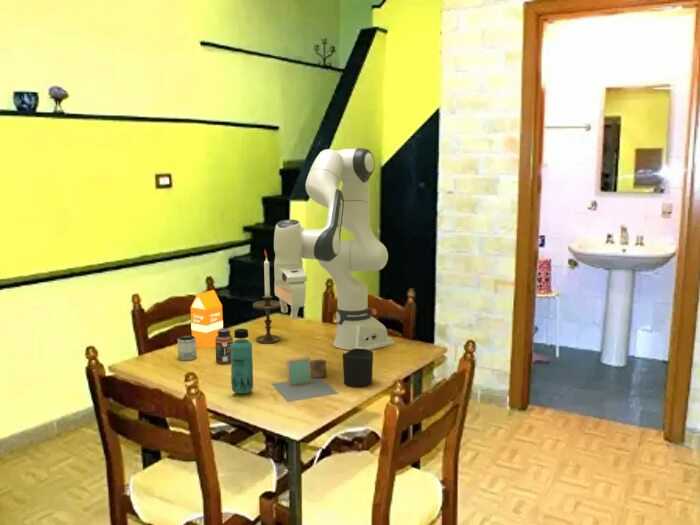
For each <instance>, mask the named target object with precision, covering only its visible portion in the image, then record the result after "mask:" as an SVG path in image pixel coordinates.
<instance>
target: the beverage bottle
mask: <svg viewBox="0 0 700 525" xmlns="http://www.w3.org/2000/svg"><path fill="white" fill-rule="evenodd" d="M233 333H234V334H233V335H234V336H233V338H235V340H233V343H232V344H231V363H230V374H231V377H230V378H231V383H230V384H231V390H232V392H233V393H236V394H246V393H249V392H251V391H253V388H254V374H253V373H254V367H253V366H254V364H253V343H252V342H251V341H250V340H249V339H246V338H248V337H249V330H248V329H247V328H237V329H235V330H234V332H233Z"/></svg>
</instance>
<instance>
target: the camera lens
mask: <svg viewBox="0 0 700 525" xmlns="http://www.w3.org/2000/svg"><path fill="white" fill-rule="evenodd" d="M177 354H178V359H179V360H180V361H182V362H183V361H184V362H187V361H193V360H195V359H196V358H197V346H196V338H195V337H194V336H192V334H189V335H188V334H187V335H181V336H179V337H178V338H177Z"/></svg>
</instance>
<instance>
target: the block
mask: <svg viewBox="0 0 700 525" xmlns="http://www.w3.org/2000/svg"><path fill="white" fill-rule="evenodd" d="M327 373H328V372H327V361H326V360H324V359H321V358H319V359H313V360H310V377H311V378H313V377H314V378H319V377H321V378H326V377H327V376H328V374H327Z"/></svg>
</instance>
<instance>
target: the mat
mask: <svg viewBox="0 0 700 525" xmlns="http://www.w3.org/2000/svg"><path fill="white" fill-rule="evenodd" d="M271 385H272V386H273V387H274V389H275V390H276V391H277V392H278V393H279V395H281V397H282V398H283V399H284V400H285V401H286V402H287V403H290V402H295V401H302V400H308V399H309V400H310V399H313V398H320V397H326V396H331V395H333V396H334V395H338V394H339V392H338V391H337V390H336V389H334V388H333V387H332V386H331V385H330V384H329V383H327V382H326V381H325V380H324V379H323V377H319V378H314V377H310V383H304V384H298V385H291V386H289V385H288V384H287V380H286V381H281V382H274V383H271Z"/></svg>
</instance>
